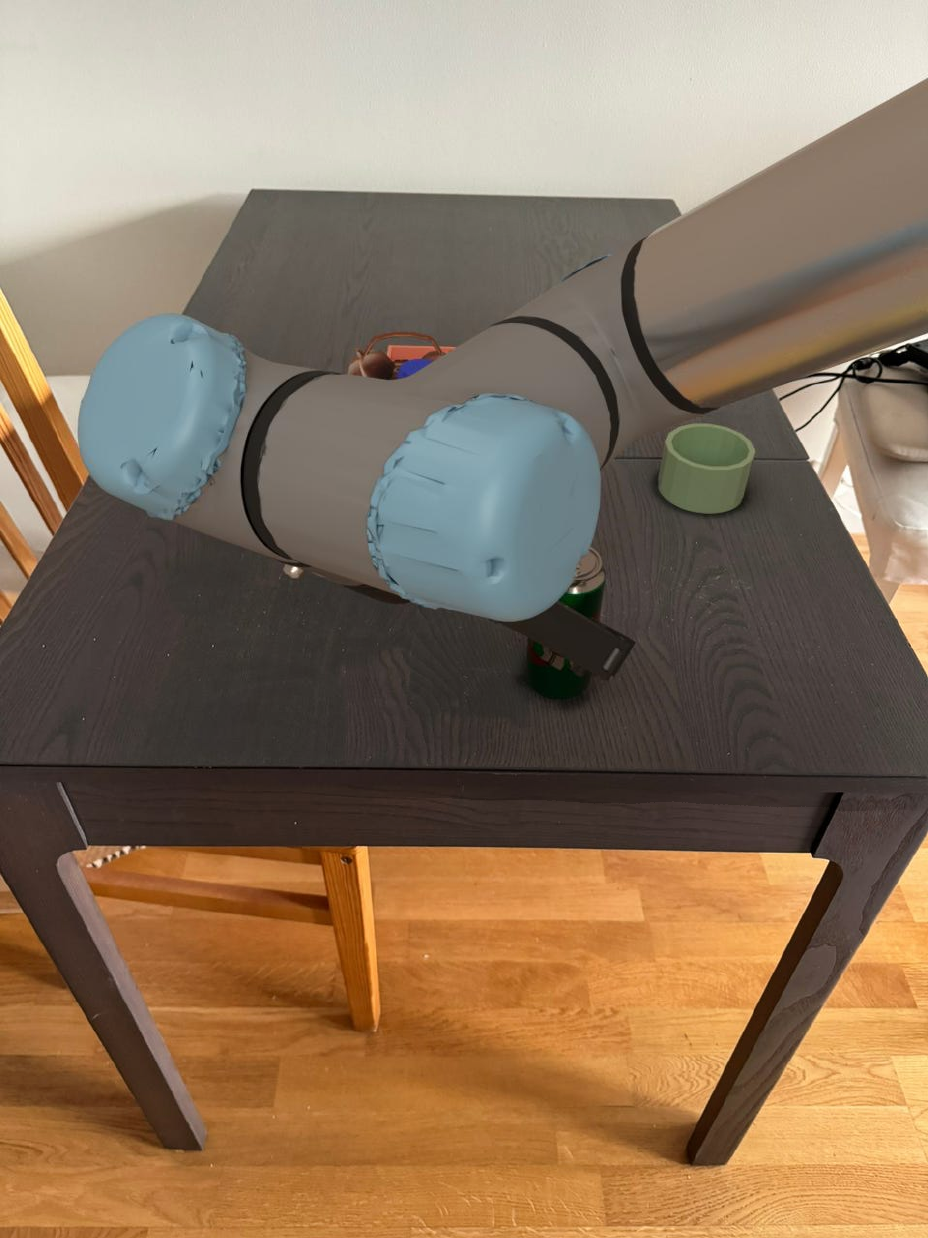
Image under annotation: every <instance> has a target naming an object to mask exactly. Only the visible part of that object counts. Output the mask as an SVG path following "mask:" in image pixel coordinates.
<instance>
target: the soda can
mask: <svg viewBox="0 0 928 1238" xmlns="http://www.w3.org/2000/svg"><path fill="white" fill-rule="evenodd" d="M606 579H607V572H606V569H605V567H604V565H603V559H602V557H601V554H600V553H599V552H598V551H596V550H595V549H594V548H593V547H591V546H590V549H589V551H588V554H587V555H586V556H585V557H583V558H580V560H579V562H578V564H577V566H576V571H575V577H574V581H573V583H572V584H571V585H570V587H569V588H568V589H567V590H566V592H565V593H564V594H563V595H562V597H561V598H560V599H559V600H558V601H560V602H561V603H563V604H565V605H566V606H568V607H570V608H571V609H573V610H575V611H576V612H578V613H580V614H581V615H583V616H585V617H586V618H588V619H589V618H590V617H592V618H594V619H596V620H598V621H599V622H600V618H601V612H602V605H603V598H604V593H605V586H606ZM526 641H527V642H526V653H525V665H524V678H525V681H526V684H527V685H528V687H530V689H531V690H532V691H534V692H535V693H536V694H538V695H539V696H541V697H543V698H545V699H548V700H552V701H566V700H567V701H568V700H570V699H573V698H576V697H577V696H580V695H582V694H583V693H584V692H585V691H586V690H587V688H588V687H589V685H590V683H591V677H592V672H590V671H588V670H586V671H585V673H584V675H583V676H582V677H579V676H578V675H576V674H575V673H574V672H573V671H572V670H571V669H570V668H571V666H572V665H573V663H574V662H572V661H570V660H568V659H566V658H565V657H563V656H561V655H559V654H557V653H555V652H554V651H552V650H550V649H548V648H546V647H544V646H542V645H541V644H539V643H537V642H535V641H533V640H531V639H530V638H528V637H527V640H526Z"/></svg>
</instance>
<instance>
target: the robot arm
mask: <svg viewBox="0 0 928 1238" xmlns="http://www.w3.org/2000/svg"><path fill="white" fill-rule="evenodd" d="M927 334H928V77H927V78H924V79H923V80H920V82H917V83H916V84H914V85H912V86H910V87H909V88H907V89H905V90H903V91H901V92H900V93H898V94H896V95H894V96H893V97H891V98H889V99H887V100H885V101H883V102H881V103H880V104H878V105H876V106H875V107H873V108H871V109H869V110H867V111H866V112H863V113H861V114H860V115H859V116H856V117H855V118H853V119H852V120H850V121H848V122H845V123H844V124H843V125H840V126H839V127H837V128H835V129H833V130H832V131H830V132H828V133H826V134H825V135H823V136H821V137H819V138H817V139H815V140H814V141H812V142H810V143H808V144H806V145H805V146H803V147H801V148H800V149H798V150H796V151H793V152H792V153H791V154H788V155H787V156H785V157H783V158H781V159H780V160H778V161H776V162H774V163H772V164H770V165H769V166H767V167H765V168H764V169H762V170H759V171H758V172H756V173H755V174H753V175H751V176H749V177H747V178H746V179H743V180H742V181H740V182H738V183H737V184H735V185H733V186H731V187H730V188H728V189H726V190H724V191H722V192H721V193H719V194H717V195H715V196H714V197H712V198H710V199H707V200H706V201H704V202H702V203H701V204H699V205H697V206H696V207H694V208H691V209H690V210H688V211H686V212H685V213H683V214H681V215H680V216H677V217H676V218H674V219H672V220H671V221H669V222H667V223H665V224H663V225H662V226H660V227H658V228H656V229H655V230H654V231H653V232H652V233H651V234H648V235H647V236H644V237H643V238H641V239H640V240H637V241H635V242H632V243H630V244H628V245H626V246H624V247H623V248H620V249H619V250H617V251H615V252H613V253H607V254H604V255H601V256H599V257H597V258H595V259H593V260H592V261H590V262H587V263H585V264H584V265H582V266H581V267H579V268H578V269H576V270H575V271H572V272H571V273H569V274H568V275H567V276H565V277H564V278H562V279H560V281H558V282H557V284H556V285H554V286H553V287H551V288H549V289H548V290H546V291H545V292H543V293H541V294H540V295H538V296H537V297H535V298H534V299H532V300H531V301H529V302H528V303H526V304H525V305H523V306H522V307H520V308H519V309H517V310H516V311H514V312H512V313H511V314H510V315H507V316H506V317H505V318H503V319H502V320H500V321H498V322H496V323H493V324H491V325H490V326H489V327H487V328H486V329H484V330H483V331H481V332H479V333H478V334H476V335H474V336H473V337H471V338H469V339H468V340H466V341H465V342H463V343H461V344H459V345H458V346H455V347H456V348H455V349H453V350H452V351H450V352H448V353H447V354H445V355H443V356H442V357H440V358H438V359H437V360H435V361H434V362H432V363H430V364H429V365H427V366H426V367H424V368H422V369H421V370H419V371H418V372H416V373H414V374H413V375H411V376H409V377H406V378H402V379H397V380H383V379H376V378H370V377H363V376H356V375H350V374H348V373H342V372H334V371H327V370H322V369H316V368H310V367H305V366H304V367H303V366H298V365H292V364H291V365H290V364H286V363H278V362H274V361H272V360H269V359H265V358H263V357H260V356H259V355H257V354H255V353H253V352H250V351H249V350H248V349H246V348H245V347H244V345H243V343H242V342H241V341H239V340H238V338H237V337H236V336H234V335H233V334H232V333H226V332H224V333H223V332H222V331H221V332H220V331H219V330H216V329H215V328H212V327H210V326H209V325H207V324H205V323H202V322H201V321H199V320H197V319H195V318H193V317H191V316H188V315H185V314H180V313H175V312H168V313H159V314H155V315H152V316H149V317H145V318H143V319H141V320H139V321H137V322H136V323H134V324H133V325H131V326H129V327H128V328H126V329H125V330H124V331H122V332H121V333H120V334H119V335H118V336H117V337H116V338H115V339H114V340H113V342H111V344H110V345H109V346H108V347H107V348H106V350H105V351H104V352H103V353H102V355H101V356H100V358H99V359H98V361H97V363H96V364H95V366H94V367H93V370H92V372H91V374H90V376H89V380H88V383H87V387H86V390H85V392H84V395H83V397H82V399H81V401H80V406H79V410H78V416H77V417H78V418H77V444H78V448H79V455H80V457H81V460H82V464H83V465H84V467H85V469H86V471H87V473H88V475H89V477H91V479H92V480H93V481H94V482H95V484H97V486H98V487H99V488H100V489H102V490H103V491H104V492H105V493H107V494H109V495H111V496H113V497H115V498H117V499H119V500H122V501H123V502H126V503H127V504H131V505H132V506H135V507H137V508H138V509H139V508H140V509H142V510H143V511H145V512H146V514H147V515H148V516H149V517H151V518H155V519H159V520H164V521H167V522H170V521H171V522H173V523H176V524H178V525H181V526H183V527H186V528H189V529H192V530H194V531H198V532H199V533H202V534H205V535H207V536H210V537H213V538H215V539H218V540H220V541H223V542H226V543H229V544H231V545H235V546H238V547H240V548H243V549H246V550H249V551H251V552H255V553H257V554H260V555H262V556H265V557H268V558H272V559H273V560H275V561H277V562H280V563H282V564H284V567H283V568H282V571H283V573H284V575H286V576H287V577H288V578H290V579H291V580H295V581H297V580H300V579H302V576H303V575H304V573H305V572H306V571H307V572H309V573H311V574H313V575H316V576H317V577H319V578H322V579H324V580H327V581H330V582H332V583H334V584H338V585H341V586H342V587H343V588H346V589H348V590H350V591H353V592H356V593H357V594H361V595H362V596H366V597H369V598H371V599H374V600H377V601H379V602H382V603H385V604H391V605H405V604H410V603H412V604H415V605H419V606H421V607H422V608H429V609H432V610H438V609H445V610H448V611H455V612H460V613H464V614H468V615H472V616H477V617H481V618H485V619H488V620H489V622H492V623H494V624H495V625H497V624H500V625H501V626H504V627H506V628H508V629H510V630H512V631H514V632H516V633H519V634H520V635H522V636H524V637H526V638H527V639H528V638H530V639H531V640H533V641H535V642H537V643H539V644H541V645H542V646H544V647H546V648H548V649H550V650H552V651H554V652H555V653H557V654H559V655H561V656H563V657H565V658H566V659H568V660H570V661H572V662H574V663H573V665H572V666H571V668H570V669H571V670H572V671H573V672H574V673H575V674H576V675H578V676H579V677H582V676H583V675H584V673H585V671H586V670H588V671H590V672H591V674H593V675H594V676H595V677H596V678H598V679H599V680H603V681H605V682H606V681H607V682H608V681H609V680H610V678H611V677H615V676H616V675H617V673H618V671H619V670H620V669H621V667H622V666H623V664H624V662H625V661H626V659H627V658H628V656H629V655H630V653H631V652H632V650H633V648H634V647H635V645H636V644H637V641H635V640H634V639H632V638H631V637H629V636H627V635H625V634H624V633H622V632H620V631H618V630H616V629H615V628H613V627H610V626H609V625H606V624H605V623H603V622H601V621H600V620H599V621H598V620H596V619H594V618H592V617H590V618H589V619H588V618H586V617H585V616H583V615H581V614H580V613H578V612H576V611H575V610H573V609H571V608H570V607H568V606H566V605H565V604H563V603H561V602H560V601H558V600H559V599H560V598H561V597H562V595H563V594H564V593H565V592H566V590H567V589H568V588H569V587H570V585H571V584H572V583H573V581H574V577H575V571H576V566H577V564H578V562H579V560H580V558H583V557H585V556H586V555H587V554H588V551H589V549H590V547H591V546H592V543H593V540H594V537H595V533H596V529H597V526H598V521H599V520H598V519H599V513H600V508H601V497H602V484H601V483H602V477H601V471H603V470H604V468H606V467H607V466H608V465H609V464H610V463H611V462H613V460H615V459H616V458H617V457H618V456H619V455H620V454H621V453H622V452H623V451H625V450H626V449H627V448H628V447H629V446H631V445H632V444H634V443H635V442H637V441H638V440H640V439H642V438H644V437H647V436H649V435H651V434H653V433H656V432H659V431H662V430H666V429H668V428H670V427H673V426H676V425H678V424H682V423H684V422H687V421H690V420H692V419H695V418H697V417H700V416H703V415H705V414H708V413H711V412H714V411H717V410H718V409H720V408H723V407H724V406H728V405H730V404H733V403H736V402H739V401H741V400H745V399H747V398H750V397H753V396H756V395H759V394H762V393H764V392H767V391H769V390H773V389H776V388H778V387H781V386H783V385H787V384H790V383H793V382H796V381H797V380H801V379H804V378H807V377H810V376H812V375H815V374H817V373H820V372H823V371H826V370H829V369H832V368H836V367H837V366H840V365H843V364H845V363H848V362H851V361H854V360H857V359H860V358H863V357H865V356H868V355H871V354H874V353H876V352H879V351H882V350H885V349H888V348H891V347H893V346H896V345H899V344H902V343H905V342H908V341H911V340H913V339H916V338H919V337H921V336H925V335H927Z"/></svg>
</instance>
